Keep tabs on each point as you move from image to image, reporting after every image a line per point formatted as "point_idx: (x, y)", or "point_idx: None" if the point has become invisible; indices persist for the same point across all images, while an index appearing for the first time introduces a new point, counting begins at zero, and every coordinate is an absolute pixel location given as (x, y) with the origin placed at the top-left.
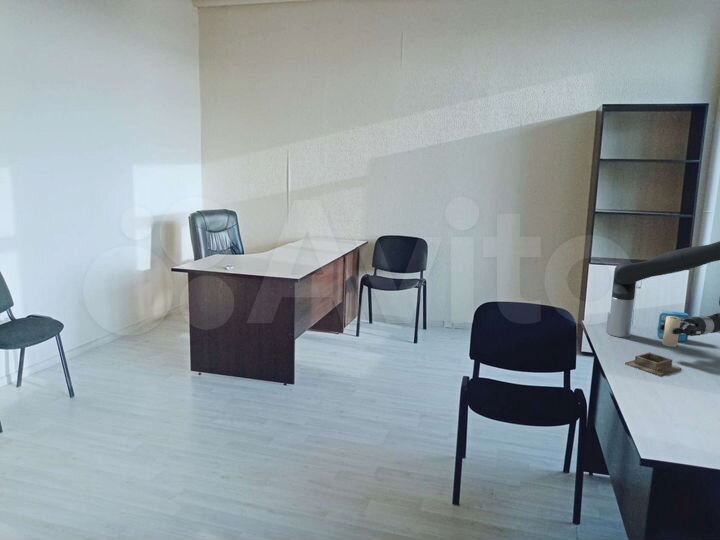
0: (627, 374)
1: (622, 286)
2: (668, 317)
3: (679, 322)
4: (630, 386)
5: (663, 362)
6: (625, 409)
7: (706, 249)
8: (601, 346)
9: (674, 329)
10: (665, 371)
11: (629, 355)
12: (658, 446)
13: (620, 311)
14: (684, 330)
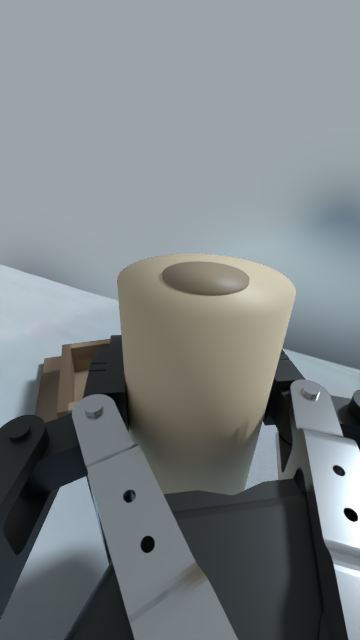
0: (102, 319)
1: None
2: (227, 263)
3: (120, 319)
4: (52, 298)
5: (61, 365)
6: (3, 266)
7: None
8: (339, 373)
9: (112, 335)
10: (49, 388)
11: None
12: None
13: None
14: (67, 420)
